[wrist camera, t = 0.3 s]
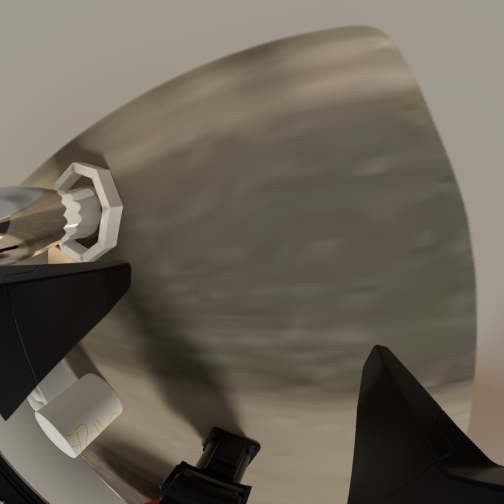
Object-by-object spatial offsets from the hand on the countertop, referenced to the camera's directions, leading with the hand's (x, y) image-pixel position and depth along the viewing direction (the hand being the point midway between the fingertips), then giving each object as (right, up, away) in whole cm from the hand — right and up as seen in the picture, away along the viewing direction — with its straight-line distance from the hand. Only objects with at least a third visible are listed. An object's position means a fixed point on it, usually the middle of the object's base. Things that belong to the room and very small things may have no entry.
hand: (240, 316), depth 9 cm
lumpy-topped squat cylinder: (-36, -20, +30) cm, 51 cm away
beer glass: (-18, +7, +19) cm, 27 cm away
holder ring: (-18, +7, +19) cm, 27 cm away
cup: (-23, -20, +26) cm, 40 cm away
